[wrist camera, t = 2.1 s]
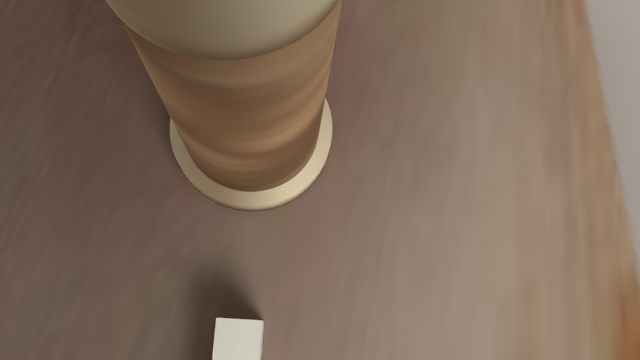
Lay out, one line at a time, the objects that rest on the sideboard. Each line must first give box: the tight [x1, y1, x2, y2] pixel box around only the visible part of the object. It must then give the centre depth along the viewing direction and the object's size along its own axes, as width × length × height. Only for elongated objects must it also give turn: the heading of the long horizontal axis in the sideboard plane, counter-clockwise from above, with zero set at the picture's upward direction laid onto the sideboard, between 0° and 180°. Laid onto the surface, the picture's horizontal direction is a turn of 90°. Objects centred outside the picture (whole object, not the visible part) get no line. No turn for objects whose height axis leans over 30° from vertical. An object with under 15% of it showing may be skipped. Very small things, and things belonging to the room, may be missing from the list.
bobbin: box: [106, 0, 342, 211], centre depth 17 cm, size 6×6×13 cm
